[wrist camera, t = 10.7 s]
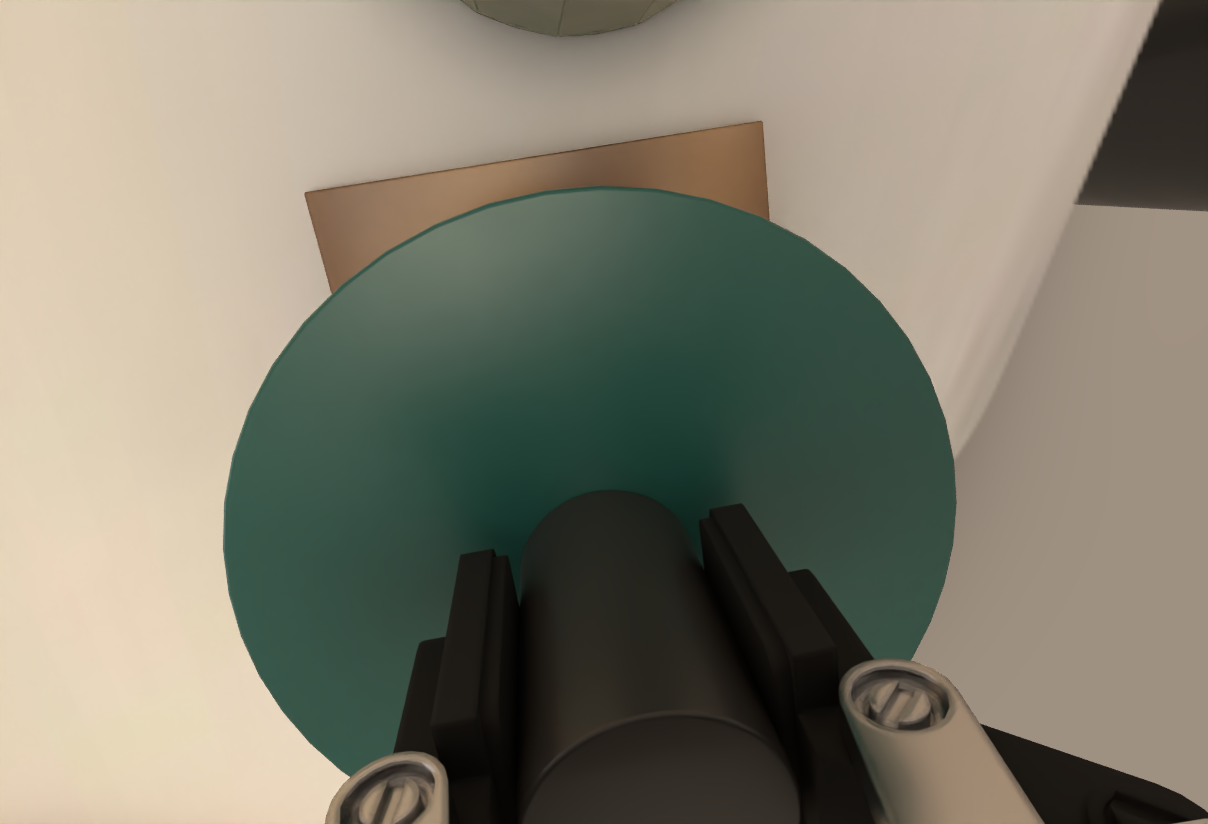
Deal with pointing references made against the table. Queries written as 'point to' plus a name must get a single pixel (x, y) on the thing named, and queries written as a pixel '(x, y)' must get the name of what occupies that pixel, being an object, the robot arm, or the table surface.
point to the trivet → (535, 188)
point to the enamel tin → (569, 14)
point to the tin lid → (585, 488)
